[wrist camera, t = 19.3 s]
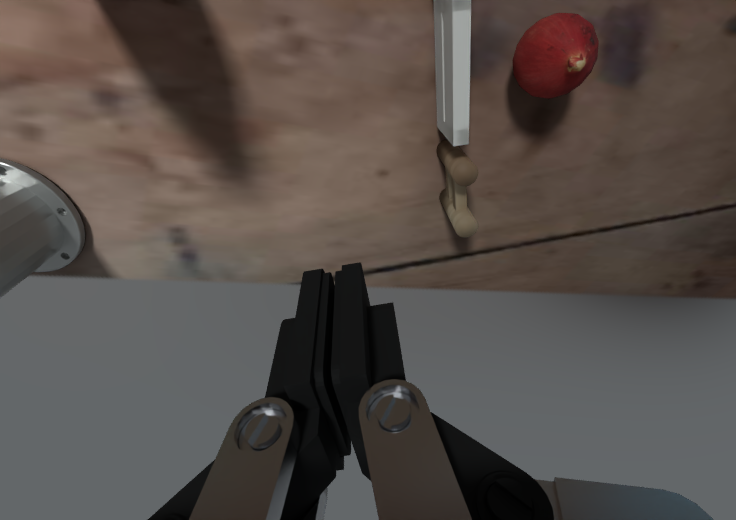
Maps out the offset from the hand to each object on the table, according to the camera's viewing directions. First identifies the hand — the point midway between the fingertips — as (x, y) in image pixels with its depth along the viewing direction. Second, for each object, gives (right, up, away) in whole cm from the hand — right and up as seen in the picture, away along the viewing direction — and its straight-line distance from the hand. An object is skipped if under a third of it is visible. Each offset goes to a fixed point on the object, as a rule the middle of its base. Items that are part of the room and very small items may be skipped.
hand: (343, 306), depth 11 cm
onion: (+15, +19, +21) cm, 32 cm away
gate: (+7, +18, +20) cm, 28 cm away
